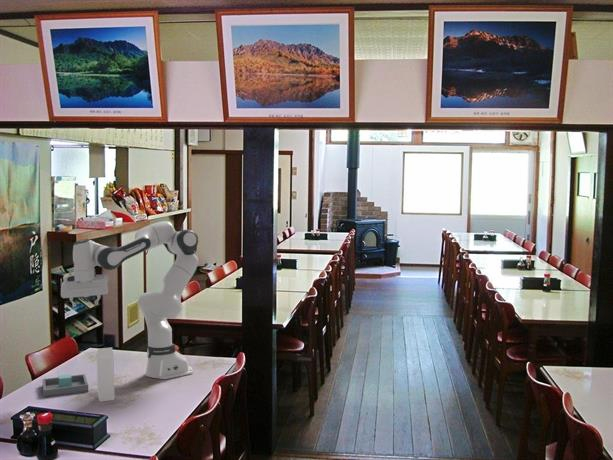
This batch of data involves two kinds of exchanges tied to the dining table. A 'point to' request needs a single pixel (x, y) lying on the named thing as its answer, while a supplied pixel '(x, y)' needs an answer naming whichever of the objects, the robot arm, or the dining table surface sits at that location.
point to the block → (65, 380)
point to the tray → (53, 387)
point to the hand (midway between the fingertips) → (85, 305)
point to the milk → (105, 374)
